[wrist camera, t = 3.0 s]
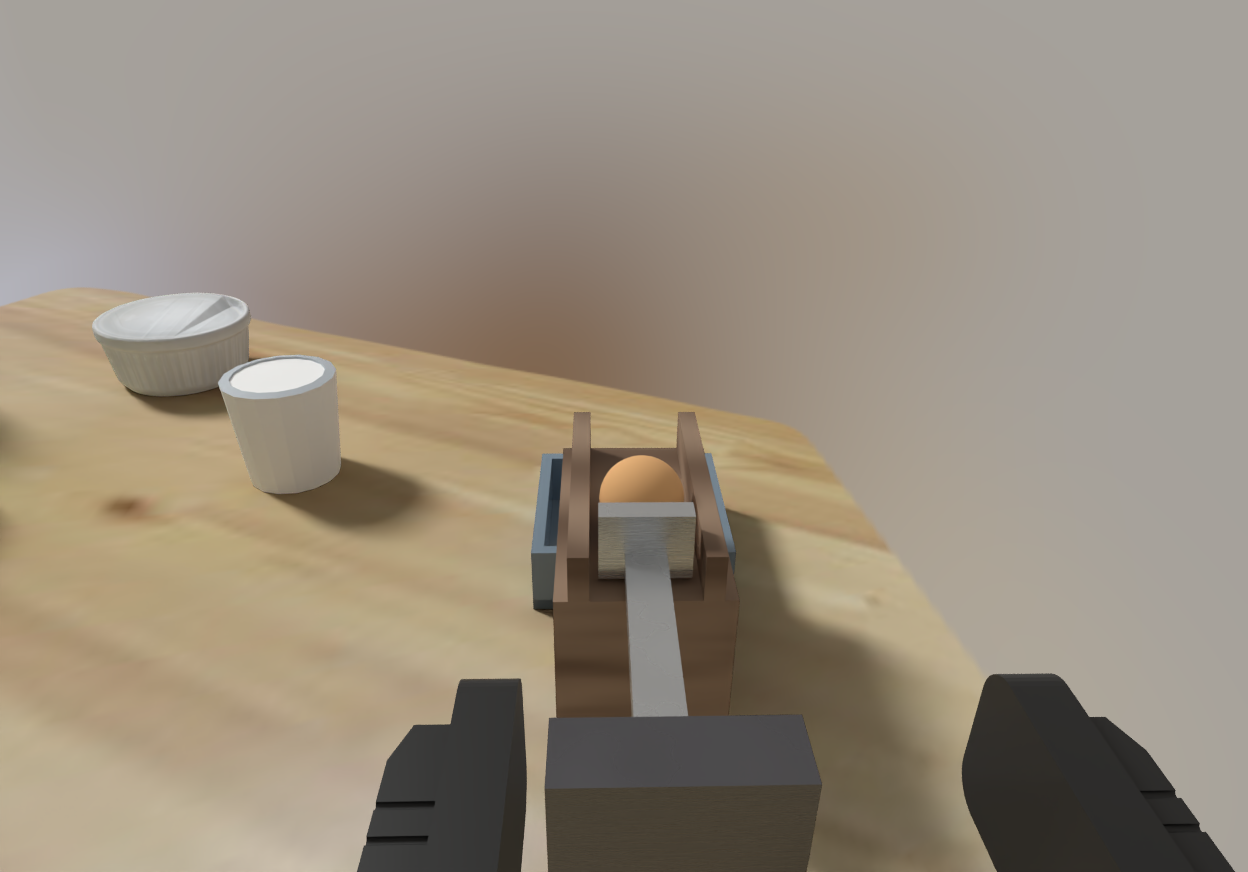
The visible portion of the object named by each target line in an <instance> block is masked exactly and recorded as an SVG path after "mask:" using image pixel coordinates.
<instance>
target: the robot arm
mask: <svg viewBox="0 0 1248 872" xmlns="http://www.w3.org/2000/svg"><path fill="white" fill-rule="evenodd" d="M962 782H963V790H964V795H965V799H966V803H967V806H968V809H969V811H970V814H971V816H972V818H973V821H974V823H975V825H976V827H977V829H978V831H979V834H980V836H981V838H982V840H983V842H984V845H985V847H986V849H987V851H988V853H989V855H990V858H991V860H992V862H993V864H994V866H995V869H996V871H997V872H1235V871H1234V870H1233V869H1232V867H1231V866H1230V864H1229V863H1228V862H1227V860H1226V859H1225V858H1224V856H1223V855H1222V853H1221V852H1220V851H1219V849H1218V848H1217V846H1216V845H1215V844H1214V842H1213V841H1212V840H1211V838H1210V837H1209V836H1208V834H1207V833H1206V832H1202V831H1201V830H1200V827H1199V824H1200V823H1199V822H1198V821H1197V819H1196V818H1195V816H1194V815H1193V814H1192V812H1191V811H1190V809H1189V808H1188V807H1187V805H1186V804H1185V803H1184V801H1183V800H1182V799H1181V798H1177V797H1176V795H1175V789H1174V788H1173V786H1172V785H1171V783H1170V782H1169V781H1168V780H1167V778H1166V777H1165V775H1164V774H1163V773H1162V771H1161V770H1160V768H1159V767H1158V766H1157V764H1156V763H1155V762H1154V760H1153V759H1152V757H1151V756H1150V755H1149V753H1148V752H1147V751H1146V750H1145V749H1144V748H1143V747H1141V746H1140V745H1139V744H1138V743H1137V742H1135V741H1134V740H1133V739H1132V738H1130V737H1129V736H1128V735H1127V734H1125V733H1124V732H1123V731H1122V730H1121V729H1119V728H1118V727H1117V726H1116V725H1114V724H1113V723H1112V722H1111V721H1109V720H1108V719H1107V718H1106V717H1089V716H1088V715H1087V713H1086V712H1085V710H1084V709H1083V707H1082V706H1081V704H1080V703H1079V701H1078V700H1077V699H1076V697H1075V696H1074V694H1073V693H1072V691H1071V690H1070V688H1069V687H1068V686H1067V684H1066V683H1065V682H1064V680H1062V679H1061V678H1060V677H1059V676H1057V675H1055V674H993V675H991V676H989V677H988V678H987V680H986V682H985V684H984V687H983V690H982V694H981V697H980V701H979V704H978V708H977V711H976V715H975V718H974V722H973V725H972V729H971V733H970V736H969V740H968V743H967V747H966V750H965V754H964V758H963V763H962ZM526 790H527V770H526V749H525V731H524V714H523V696H522V683H521V679H461V680H460V682H459V685H458V689H457V694H456V699H455V704H454V709H453V714H452V719H451V724H450V725H414V726H413V727H412V729H411V730H410V731H409V733H408V734H407V735H406V736H405V738H404V739H403V740H402V742H401V743H400V744H399V746H398V747H397V748H396V750H395V751H394V752H393V753H392V755H391V756H390V757H389V759H388V760H387V763H386V766H385V770H384V774H383V778H382V781H381V785H380V789H379V792H378V796H377V800H376V809H375V810H374V811H373V815H372V818H371V822H370V826H369V829H368V833H367V842H366V846H364V848H363V852H362V855H361V859H360V863H359V866H358V870H357V872H521V863H522V851H523V839H524V827H525V814H526Z"/></svg>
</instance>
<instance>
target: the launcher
mask: <svg viewBox="0 0 1248 872" xmlns="http://www.w3.org/2000/svg"><path fill="white" fill-rule="evenodd" d="M638 455H646V456H652V457H655V458H658V459H660V460H662V461H664V462H665V463H667V464H668V465H669V466H670V467H671V468H673V470H674V471H675V472H676V473H677V475H678V477H679V478H680V480H681V483H682V486H683V490H684V502H693V503H694V508H695V513H696V527H695V543H694V558H693V574H692V578H670V579H671V587H672V595H673V603H674V610H675V618H676V626H677V634H678V642H679V649H680V657H681V665H682V673H683V680H684V688H685V696H686V704H687V711H688V716H728V715H729V704H730V694H731V684H732V674H733V663H734V653H735V643H736V633H737V623H738V612H739V602H740V600H739V596H738V591H737V587H736V583H735V579H734V575H733V570H732V566H731V562H730V558H729V554H728V549H727V545H726V541H725V537H724V533H723V528H722V524H721V520H720V516H719V512H718V507H717V503H716V499H715V495H714V491H713V486H712V482H711V478H710V474H709V470H708V465H707V461H706V457H705V453H704V449H703V446H702V441H701V437H700V433H699V429H698V425H697V420H696V416H695V412H678V428H677V448H591V429H590V412H574V422H573V442H572V448H563V463H562V477H561V492H560V506H559V521H558V535H557V550H556V564H555V578H554V593H553V622H554V654H555V685H556V717H557V718H583V717H632V713H631V694H630V674H629V654H628V634H627V615H626V595H625V579H598V503H600V501H599V495H600V488H601V485H602V482H603V480H604V478H605V476H606V474H607V473H608V472H609V470H610V469H611V468H612V467H613V466H614V465H616V464H617V463H618V462H620V461H622V460H623V459H626V458H629V457H632V456H638Z"/></svg>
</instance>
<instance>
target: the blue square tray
mask: <svg viewBox="0 0 1248 872" xmlns="http://www.w3.org/2000/svg"><path fill="white" fill-rule="evenodd" d="M705 457H706V461H707V465H708V470H709V474H710V478H711V482H712V486H713V491H714V495H715V499H716V503H717V507H718V512H719V516H720V520H721V524H722V528H723V533H724V537H725V541H726V545H727V549H728V554H729V558H730V562H731V566H732V570H733V575H734V568H735V557H736V550H735V546H734V542H733V538H732V534H731V530H730V526H729V522H728V518H727V514H726V510H725V506H724V502H723V498H722V494H721V491H720V487H719V483H718V479H717V475H716V471H715V467H714V463H713V459H712V455H711V453H705ZM562 463H563V454H542V462H541V471H540V480H539V489H538V497H537V506H536V515H535V524H534V533H533V541H532V550H531V561H532V583H533V605H534V609H553V593H554V578H555V564H556V550H557V535H558V521H559V506H560V492H561V477H562Z"/></svg>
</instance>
